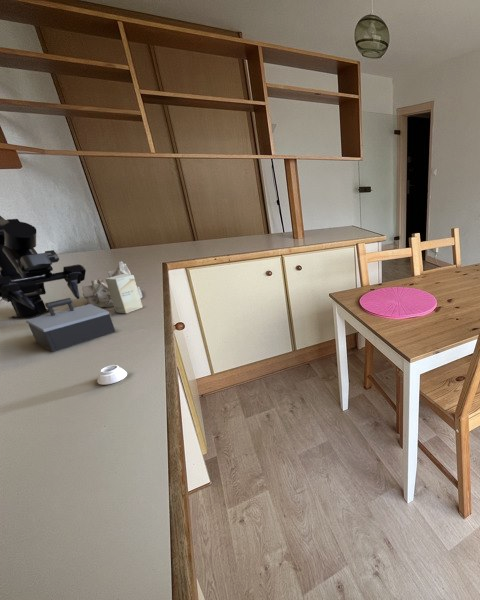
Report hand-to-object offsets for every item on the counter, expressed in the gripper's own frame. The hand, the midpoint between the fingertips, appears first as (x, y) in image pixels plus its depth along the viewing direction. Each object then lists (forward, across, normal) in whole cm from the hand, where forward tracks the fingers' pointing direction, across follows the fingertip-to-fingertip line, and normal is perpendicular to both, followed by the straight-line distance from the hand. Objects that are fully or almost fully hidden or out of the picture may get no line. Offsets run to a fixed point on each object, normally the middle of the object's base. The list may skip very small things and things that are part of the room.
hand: (57, 303), depth 89 cm
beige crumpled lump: (-7, +20, +21) cm, 30 cm away
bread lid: (+6, 0, -1) cm, 6 cm away
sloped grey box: (+10, 0, +3) cm, 11 cm away
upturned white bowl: (+34, -5, -20) cm, 40 cm away
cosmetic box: (+4, +17, +10) cm, 20 cm away
